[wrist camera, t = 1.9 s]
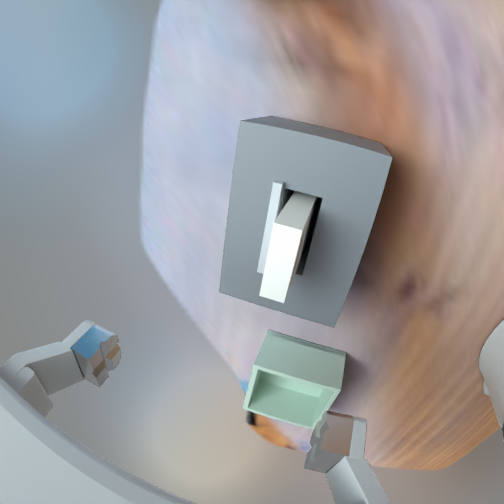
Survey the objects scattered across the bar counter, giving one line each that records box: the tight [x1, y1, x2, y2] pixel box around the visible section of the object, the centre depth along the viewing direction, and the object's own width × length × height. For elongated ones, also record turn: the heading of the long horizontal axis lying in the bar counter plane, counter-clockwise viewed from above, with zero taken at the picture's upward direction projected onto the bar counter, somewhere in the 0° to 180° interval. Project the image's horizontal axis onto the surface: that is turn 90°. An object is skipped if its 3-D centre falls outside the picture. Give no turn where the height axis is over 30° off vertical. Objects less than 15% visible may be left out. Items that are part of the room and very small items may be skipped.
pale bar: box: [259, 191, 319, 303], centre depth 22 cm, size 2×5×11 cm, turn 171°
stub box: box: [243, 330, 346, 430], centre depth 36 cm, size 10×10×6 cm
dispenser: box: [219, 116, 392, 327], centre depth 25 cm, size 10×14×9 cm
